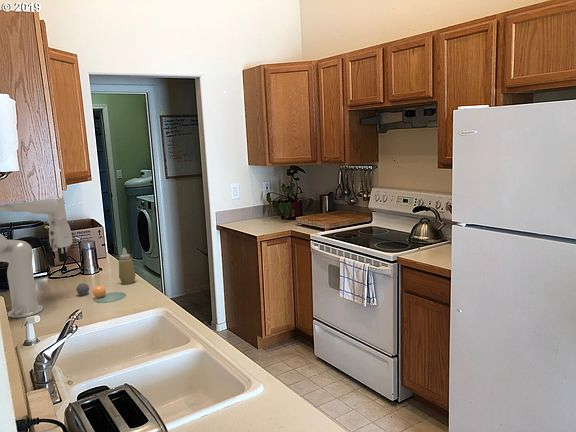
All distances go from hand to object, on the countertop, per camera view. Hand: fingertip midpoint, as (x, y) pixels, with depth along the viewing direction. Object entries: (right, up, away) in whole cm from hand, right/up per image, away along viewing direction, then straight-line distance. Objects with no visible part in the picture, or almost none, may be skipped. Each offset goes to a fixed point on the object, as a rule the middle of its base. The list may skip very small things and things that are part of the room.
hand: (63, 261), depth 218 cm
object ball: (+17, -14, -2) cm, 22 cm away
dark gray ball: (+7, -14, +4) cm, 16 cm away
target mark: (+22, -16, -2) cm, 28 cm away
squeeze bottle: (+23, -13, +20) cm, 33 cm away
